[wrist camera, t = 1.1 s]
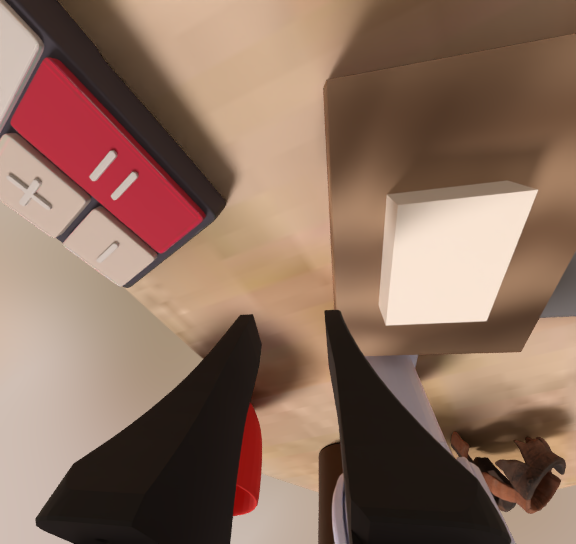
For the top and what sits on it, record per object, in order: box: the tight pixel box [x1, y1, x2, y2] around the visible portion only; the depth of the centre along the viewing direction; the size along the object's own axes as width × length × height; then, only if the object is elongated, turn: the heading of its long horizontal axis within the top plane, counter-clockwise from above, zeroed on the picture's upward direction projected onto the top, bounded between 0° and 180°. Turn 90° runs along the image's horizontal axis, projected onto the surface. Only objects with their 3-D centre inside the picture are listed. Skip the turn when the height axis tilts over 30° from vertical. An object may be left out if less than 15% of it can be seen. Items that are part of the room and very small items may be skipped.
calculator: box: [0, 0, 226, 288], centre depth 16 cm, size 11×4×15 cm
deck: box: [323, 33, 576, 356], centre depth 16 cm, size 19×14×4 cm
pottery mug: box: [451, 431, 566, 514], centre depth 31 cm, size 12×10×8 cm
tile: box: [379, 180, 538, 326], centre depth 14 cm, size 8×6×2 cm
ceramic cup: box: [233, 403, 262, 516], centre depth 29 cm, size 13×17×10 cm
